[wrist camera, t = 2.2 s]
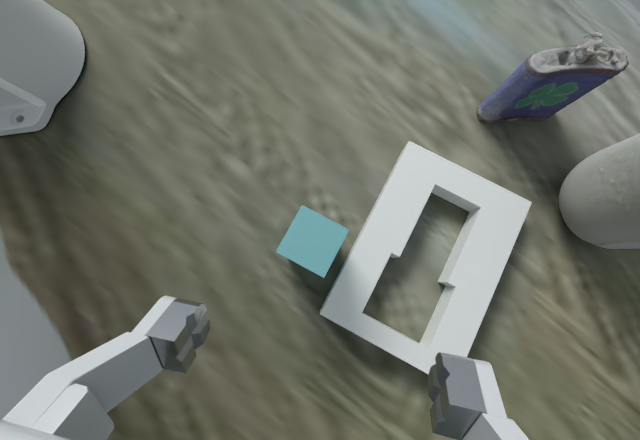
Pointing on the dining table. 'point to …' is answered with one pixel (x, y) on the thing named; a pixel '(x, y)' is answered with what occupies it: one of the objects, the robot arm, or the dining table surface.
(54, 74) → the robot arm
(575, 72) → the flask
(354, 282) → the keyhole plate
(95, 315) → the dining table surface
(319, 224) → the key block
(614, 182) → the white bottle
